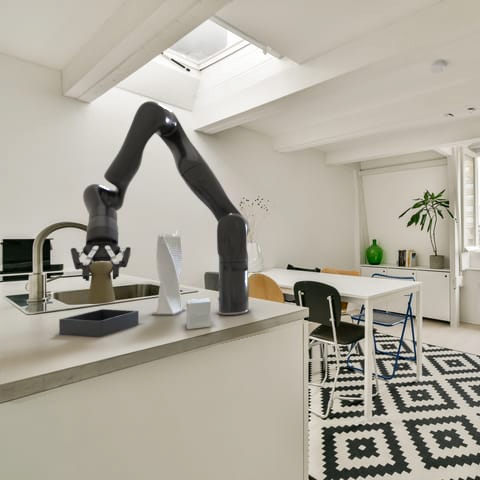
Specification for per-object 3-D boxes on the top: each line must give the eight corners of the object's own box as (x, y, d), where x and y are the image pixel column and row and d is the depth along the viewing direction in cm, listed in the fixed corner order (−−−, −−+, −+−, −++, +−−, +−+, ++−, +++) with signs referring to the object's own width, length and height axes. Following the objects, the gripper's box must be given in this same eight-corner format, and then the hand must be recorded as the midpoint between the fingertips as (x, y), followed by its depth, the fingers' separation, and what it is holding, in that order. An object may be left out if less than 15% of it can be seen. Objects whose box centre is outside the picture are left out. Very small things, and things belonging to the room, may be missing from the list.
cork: (100, 304, 88) (99, 263, 88) (81, 303, 89) (81, 262, 89) (120, 300, 94) (120, 261, 94) (103, 299, 95) (102, 260, 95)
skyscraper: (188, 310, 115) (188, 229, 114) (176, 316, 107) (176, 228, 106) (164, 310, 115) (164, 229, 114) (149, 315, 106) (149, 228, 106)
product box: (210, 327, 94) (211, 301, 94) (186, 329, 91) (186, 303, 91) (209, 322, 100) (209, 297, 100) (186, 324, 97) (186, 299, 97)
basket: (102, 322, 99) (102, 308, 99) (138, 324, 97) (138, 310, 97) (59, 334, 87) (59, 319, 87) (99, 336, 85) (99, 321, 85)
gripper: (69, 224, 93) (64, 271, 84) (131, 225, 101) (133, 267, 92) (72, 242, 98) (67, 289, 88) (131, 242, 106) (132, 284, 96)
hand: (101, 278), depth 90 cm, fingers closed on cork, 5 cm apart
